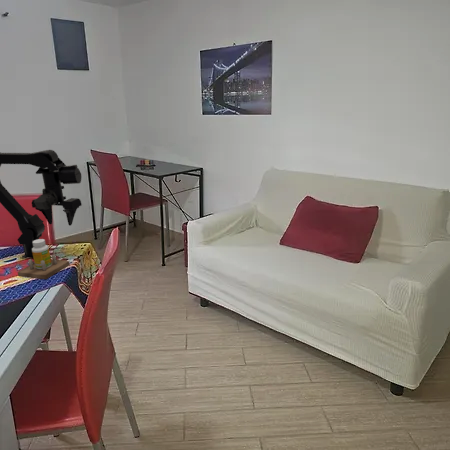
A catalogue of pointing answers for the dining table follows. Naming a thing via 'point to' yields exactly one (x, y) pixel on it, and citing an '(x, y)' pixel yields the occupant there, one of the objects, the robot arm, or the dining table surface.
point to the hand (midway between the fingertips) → (60, 224)
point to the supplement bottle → (41, 253)
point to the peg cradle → (43, 269)
